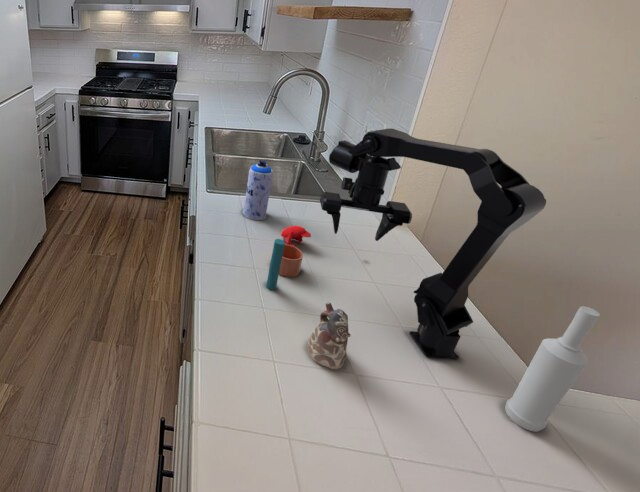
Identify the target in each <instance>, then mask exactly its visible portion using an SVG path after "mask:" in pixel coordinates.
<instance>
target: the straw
mask: <svg viewBox="0 0 640 492" xmlns="http://www.w3.org/2000/svg"><path fill="white" fill-rule="evenodd" d="M285 244H286V243H285V242H284V239H281V238H275V239H274V242H273V247H272V253H271V256H270V257H271V259H270V263H269V269H268V274H267V278H266V283H265V287H266V288H267V289H268V290H270V291H275V290H276V289H277V285H278V280H279V275H280V274H279V270H280V265H281V260H282V255H283V251H284V246H285Z"/></svg>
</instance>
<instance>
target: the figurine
mask: <svg viewBox="0 0 640 492" xmlns="http://www.w3.org/2000/svg"><path fill="white" fill-rule="evenodd" d="M325 308H326V310H324V311H321V313H320V317H319V318H320V320H319V323H318V324H317V325H316V327H315V328H314V330H313V331H312V333H311V335H310V337H309V339H308V342H307V352H308V353H309V356H310V357H311V359H312V360H313V361H314V362H315V363H317V364H319V365H321V366H323V367H325V368H326V367H327V368H329V369H331V370H336V369H341V368H343V365H344V364H345V361H346V358H347V355H348V354H347V349H348V341H349V338H350V337H351V335H352V334H351V333H349V315H348V314H347V313H346V312H345V311H344V310H342V309H340V308H337V309H334V307H333V304H332V302H329V301H328V302H326V303H325Z"/></svg>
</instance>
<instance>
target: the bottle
mask: <svg viewBox="0 0 640 492" xmlns="http://www.w3.org/2000/svg"><path fill="white" fill-rule="evenodd" d="M600 316H601V314H600V312H599V311H597V309H594V308H592V307H588V306H585V305H581V306H580V307H579V308H578V310H577V311H576V313H575V314H574V317H573V319H572V320H571V322H570V323H569V325H568V327H567V328H566V330H565V331H564V333H563V335H562V336H558V337H557V338H552V337H551V338H549V337H548V338H544V339H542V341H541V343H540V344H539V347H538V348H537V350H536V352H535V354H534V356H533V357H532V359H531V361H530V363H529V365H528V367H527V369H526V371H525V372H524V374H523V376H522V378H521V380H520V381H519V384H518V386H517V387H516V389H515V391H514V393H513V394H512V397H510V398H508V399H507V401H506V403H505V407H504V410H505V413H506V415H507V417H508V418H509V419H510V420H511V422H512V421H513V423H514V424H516V425H517V426H519V427H521V428H522V429H524V430H527V431H530V432H535V433H539V432H540V431H542V430H544V429H545V428H546V427H547V425H548V419H549V418H550V417H551V415H552V414H553V412H554V411H555V410H556V408H557V407H558V405H559V404H560V403H561V401H562V400H563V399H564V397H565V396H566V395H567V393H568V392H569V391H570V389H571V388H572V386H573V385H574V384H575V382H576V381H577V379H578V378H579V377H580V375H581V373H583V371H584V370H585V368H586V367H587V366H588V364H589V359H588V358H587V356H586V355H585V353H584V352H583V351H582V347H581V344H582V343H583V341H584V340H585V338H586V337H587V335H588V334H589V332H590V331H591V329H592V327H593V326H594V325H595V323H596V322H597V321H598V319H599V317H600Z"/></svg>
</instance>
